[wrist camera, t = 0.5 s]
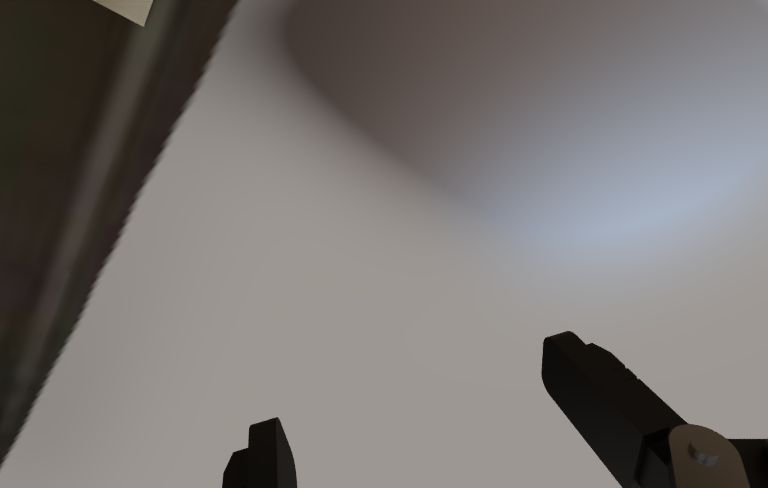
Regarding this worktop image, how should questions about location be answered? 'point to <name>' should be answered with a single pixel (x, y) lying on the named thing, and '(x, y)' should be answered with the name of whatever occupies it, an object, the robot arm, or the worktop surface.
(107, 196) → the worktop surface
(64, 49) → the worktop surface
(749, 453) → the robot arm
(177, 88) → the worktop surface
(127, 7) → the keeper cradle
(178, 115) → the worktop surface
